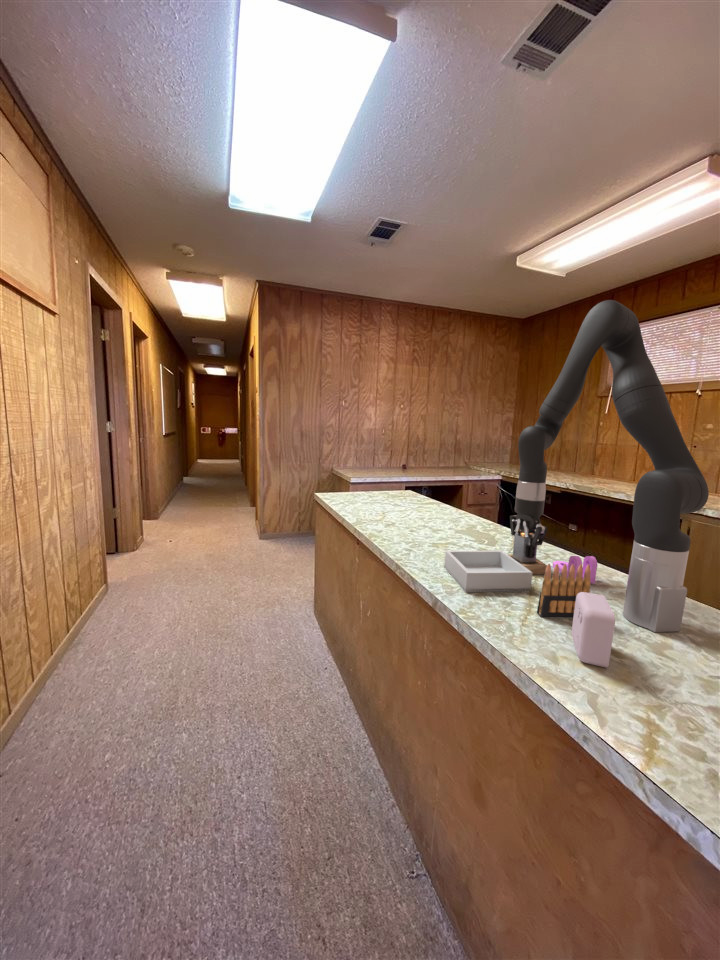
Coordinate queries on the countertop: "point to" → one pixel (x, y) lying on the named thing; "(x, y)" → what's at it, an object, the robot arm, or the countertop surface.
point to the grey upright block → (522, 549)
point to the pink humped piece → (577, 561)
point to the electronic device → (593, 629)
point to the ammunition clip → (562, 591)
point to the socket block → (535, 566)
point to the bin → (487, 571)
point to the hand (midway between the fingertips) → (524, 554)
